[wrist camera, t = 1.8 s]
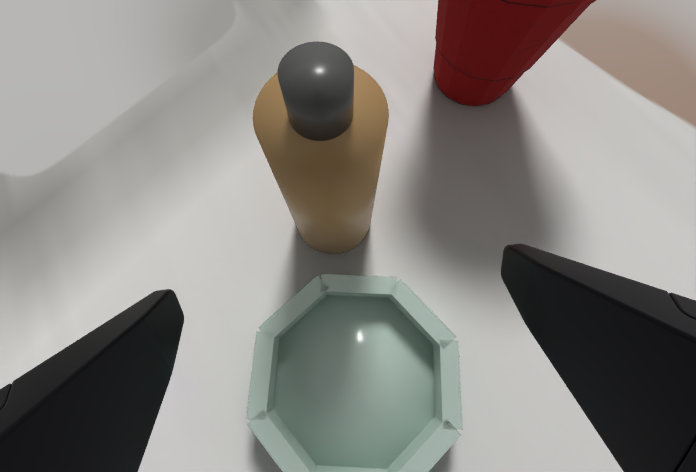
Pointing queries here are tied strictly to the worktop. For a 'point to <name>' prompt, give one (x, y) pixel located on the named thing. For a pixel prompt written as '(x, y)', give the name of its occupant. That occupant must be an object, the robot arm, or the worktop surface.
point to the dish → (355, 379)
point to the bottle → (324, 142)
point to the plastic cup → (495, 43)
